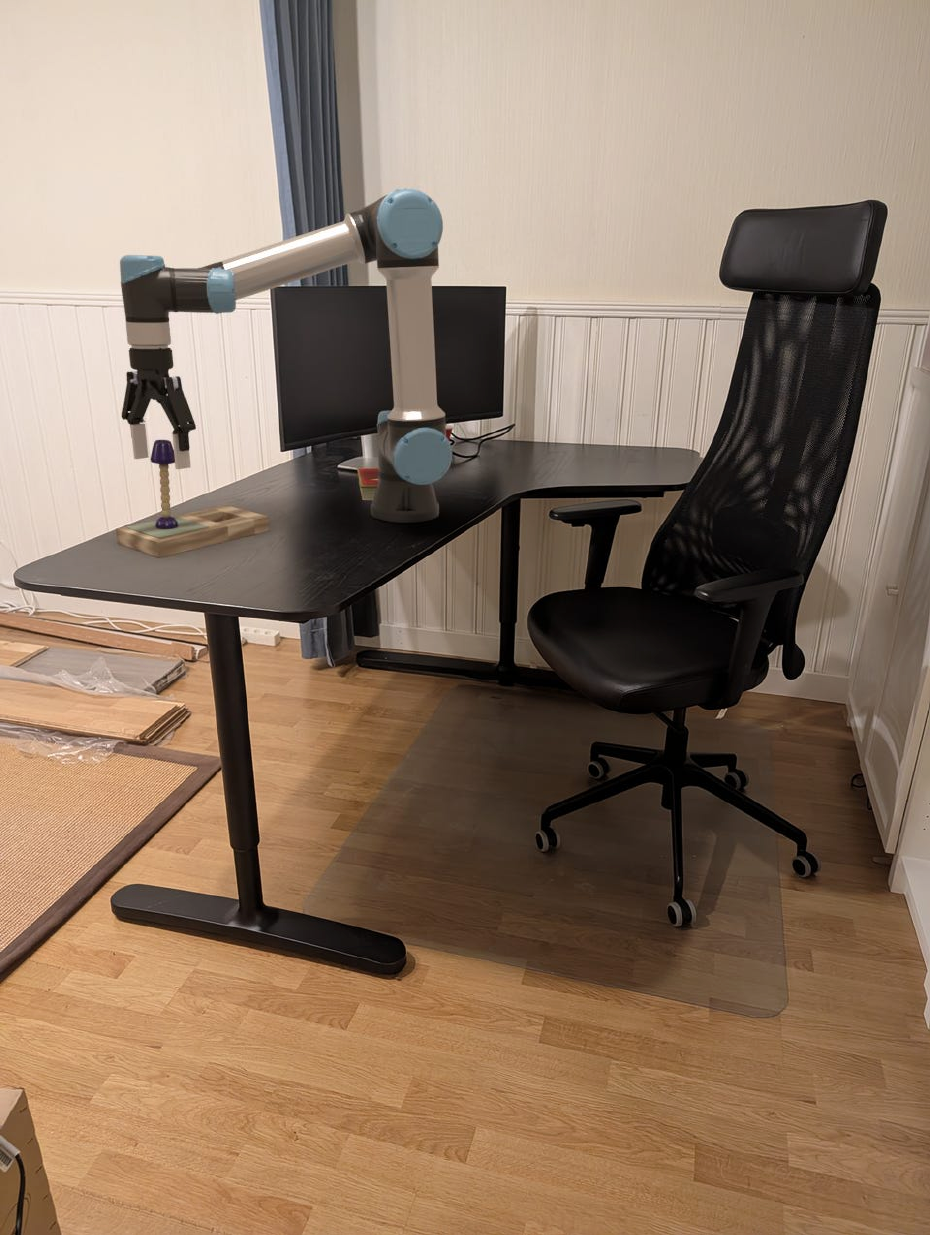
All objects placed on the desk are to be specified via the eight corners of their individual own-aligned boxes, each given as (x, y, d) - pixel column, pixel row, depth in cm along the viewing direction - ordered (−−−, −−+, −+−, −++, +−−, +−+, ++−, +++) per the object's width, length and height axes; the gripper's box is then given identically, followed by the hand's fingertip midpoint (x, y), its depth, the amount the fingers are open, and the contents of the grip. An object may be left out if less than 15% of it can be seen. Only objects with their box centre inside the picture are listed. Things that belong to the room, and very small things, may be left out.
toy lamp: (178, 522, 178) (172, 437, 172) (183, 528, 174) (177, 442, 168) (153, 524, 175) (145, 439, 169) (158, 530, 172) (150, 443, 166)
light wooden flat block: (269, 530, 186) (268, 515, 184) (159, 557, 167) (157, 540, 165) (227, 518, 194) (225, 503, 193) (117, 543, 175) (115, 527, 174)
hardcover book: (403, 482, 233) (403, 466, 232) (411, 501, 214) (411, 484, 212) (357, 483, 232) (357, 467, 230) (361, 502, 212) (360, 485, 211)
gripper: (209, 350, 158) (218, 469, 166) (130, 341, 173) (142, 451, 180) (172, 352, 153) (184, 475, 160) (93, 343, 167) (107, 456, 175)
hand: (161, 463), depth 170 cm, fingers open, 13 cm apart
